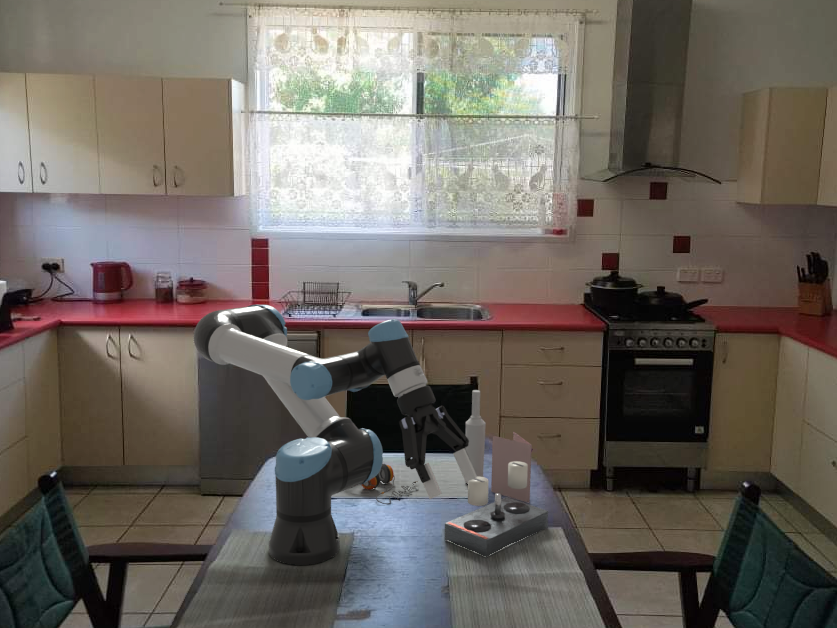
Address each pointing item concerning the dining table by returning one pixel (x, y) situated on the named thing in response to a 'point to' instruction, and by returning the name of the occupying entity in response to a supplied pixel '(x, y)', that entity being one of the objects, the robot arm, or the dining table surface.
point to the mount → (496, 526)
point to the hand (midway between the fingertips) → (454, 488)
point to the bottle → (476, 436)
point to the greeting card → (502, 456)
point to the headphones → (385, 477)
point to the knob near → (478, 491)
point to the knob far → (517, 475)
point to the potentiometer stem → (497, 509)
